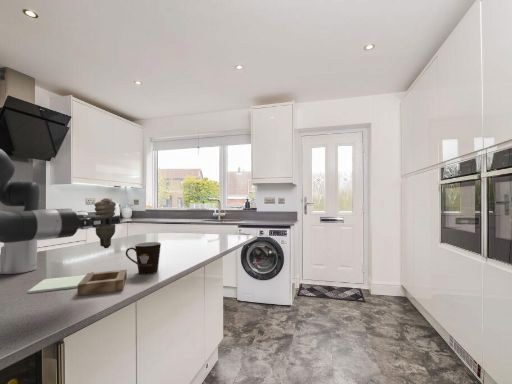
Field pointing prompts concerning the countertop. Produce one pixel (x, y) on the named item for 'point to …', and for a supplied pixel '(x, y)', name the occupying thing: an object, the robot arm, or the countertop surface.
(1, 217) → the robot arm
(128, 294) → the countertop surface
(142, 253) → the coffee mug
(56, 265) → the countertop surface
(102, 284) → the brown wooden square frame
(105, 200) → the light bulb
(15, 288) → the countertop surface
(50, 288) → the mat
